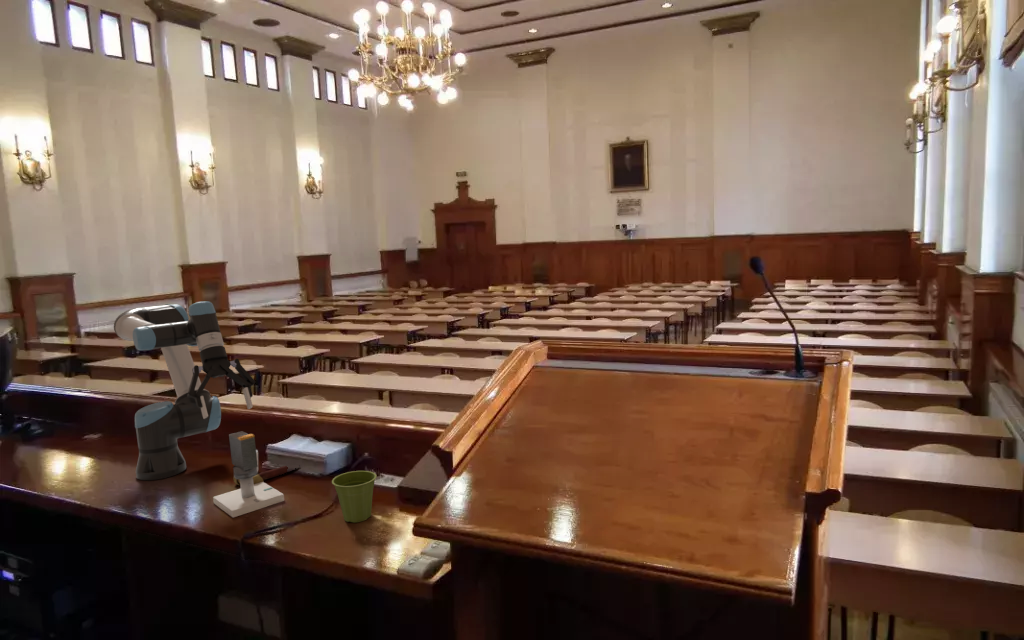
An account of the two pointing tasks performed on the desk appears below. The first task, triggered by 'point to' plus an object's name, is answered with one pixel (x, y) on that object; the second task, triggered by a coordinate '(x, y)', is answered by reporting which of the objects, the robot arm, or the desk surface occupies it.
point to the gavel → (265, 475)
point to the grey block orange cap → (243, 455)
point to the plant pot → (355, 494)
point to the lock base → (248, 498)
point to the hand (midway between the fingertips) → (228, 412)
